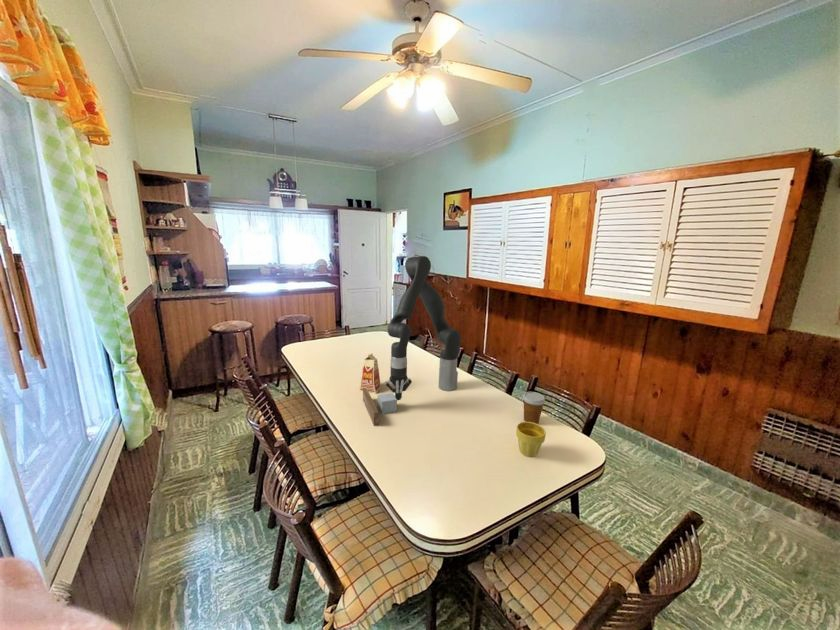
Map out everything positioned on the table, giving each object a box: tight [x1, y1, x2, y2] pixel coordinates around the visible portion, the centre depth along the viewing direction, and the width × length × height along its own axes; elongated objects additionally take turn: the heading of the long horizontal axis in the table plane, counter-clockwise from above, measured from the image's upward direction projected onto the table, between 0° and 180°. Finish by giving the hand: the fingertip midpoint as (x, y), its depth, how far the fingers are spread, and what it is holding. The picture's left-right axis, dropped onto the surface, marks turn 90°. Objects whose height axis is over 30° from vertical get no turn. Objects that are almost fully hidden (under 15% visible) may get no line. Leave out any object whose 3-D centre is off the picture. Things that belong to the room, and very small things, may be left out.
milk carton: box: [358, 352, 381, 395], centre depth 169 cm, size 9×9×20 cm
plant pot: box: [515, 421, 547, 458], centre depth 123 cm, size 10×10×10 cm
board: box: [362, 388, 379, 427], centre depth 148 cm, size 2×24×6 cm, turn 21°
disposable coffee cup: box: [522, 391, 546, 425], centre depth 144 cm, size 10×10×12 cm
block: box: [377, 392, 398, 415], centre depth 151 cm, size 7×7×6 cm
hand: (398, 399), depth 152 cm, fingers closed
